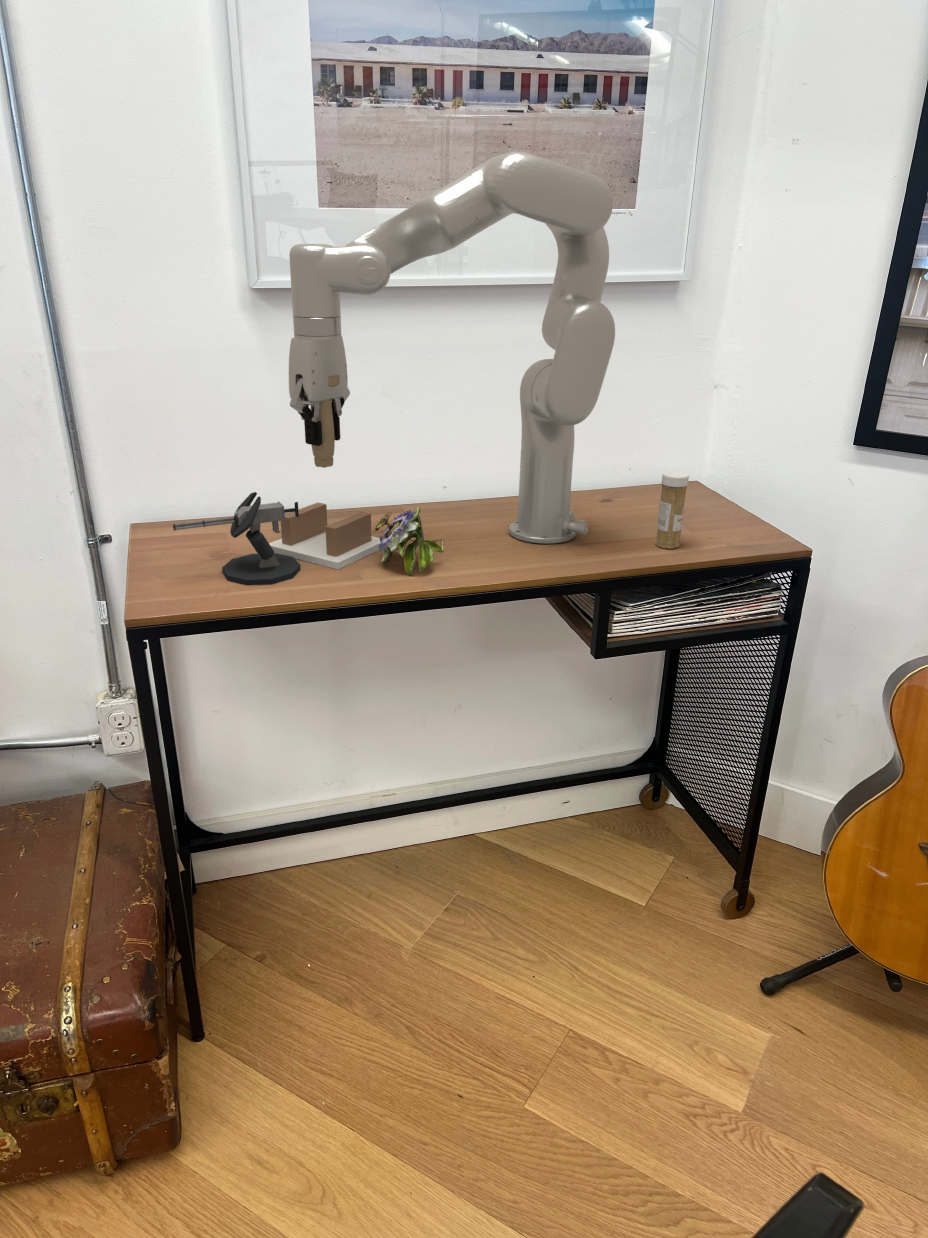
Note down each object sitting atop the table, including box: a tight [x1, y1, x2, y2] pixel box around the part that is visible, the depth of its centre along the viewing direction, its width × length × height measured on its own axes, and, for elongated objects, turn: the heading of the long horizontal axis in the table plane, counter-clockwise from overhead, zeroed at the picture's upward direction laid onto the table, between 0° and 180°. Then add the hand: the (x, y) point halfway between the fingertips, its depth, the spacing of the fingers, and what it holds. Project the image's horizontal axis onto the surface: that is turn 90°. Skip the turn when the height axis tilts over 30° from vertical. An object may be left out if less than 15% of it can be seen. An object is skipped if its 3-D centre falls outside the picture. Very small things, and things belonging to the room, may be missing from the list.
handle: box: [310, 376, 340, 468], centre depth 145 cm, size 5×6×15 cm
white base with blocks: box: [268, 502, 381, 570], centre depth 153 cm, size 16×14×6 cm
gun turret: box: [172, 491, 302, 586], centre depth 140 cm, size 13×20×13 cm, turn 116°
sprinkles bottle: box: [654, 470, 690, 550], centre depth 157 cm, size 5×5×14 cm
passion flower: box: [374, 506, 446, 577], centre depth 147 cm, size 11×11×12 cm
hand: (323, 440), depth 147 cm, fingers closed on handle, 4 cm apart
